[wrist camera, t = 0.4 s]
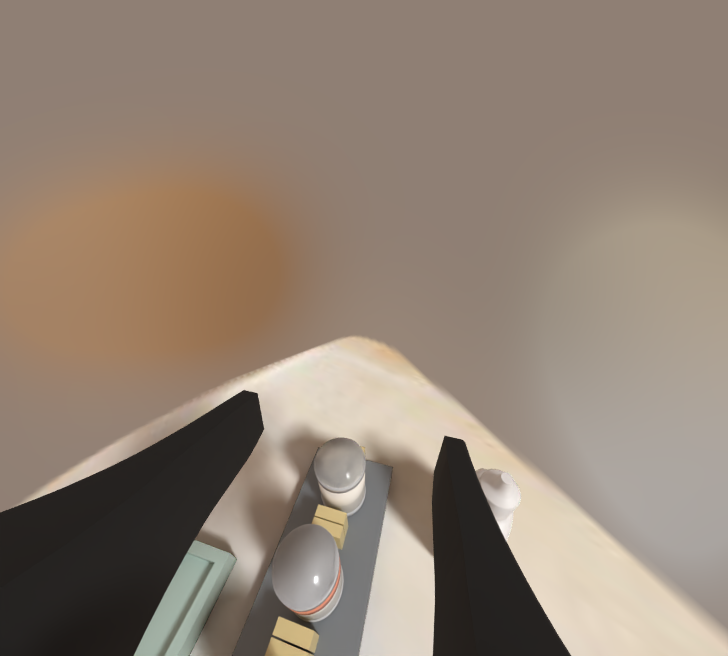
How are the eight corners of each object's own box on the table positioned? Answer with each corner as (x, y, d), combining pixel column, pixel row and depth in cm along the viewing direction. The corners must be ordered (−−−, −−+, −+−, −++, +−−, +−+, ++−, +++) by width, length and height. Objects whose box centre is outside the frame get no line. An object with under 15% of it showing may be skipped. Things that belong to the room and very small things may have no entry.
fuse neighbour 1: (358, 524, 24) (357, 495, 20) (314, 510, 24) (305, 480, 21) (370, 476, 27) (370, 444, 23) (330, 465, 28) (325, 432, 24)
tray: (133, 769, 16) (115, 776, 14) (14, 695, 17) (-10, 696, 16) (236, 559, 23) (230, 553, 22) (144, 524, 25) (134, 517, 24)
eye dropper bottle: (421, 534, 24) (446, 471, 17) (466, 497, 26) (505, 427, 19) (459, 593, 21) (509, 547, 14) (506, 545, 23) (570, 485, 16)
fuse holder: (316, 892, 13) (303, 946, 10) (177, 805, 15) (136, 833, 12) (392, 472, 28) (394, 451, 26) (319, 453, 30) (315, 431, 27)
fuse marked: (332, 632, 19) (324, 621, 15) (278, 610, 20) (258, 595, 16) (350, 558, 22) (347, 534, 18) (303, 542, 23) (290, 515, 19)
